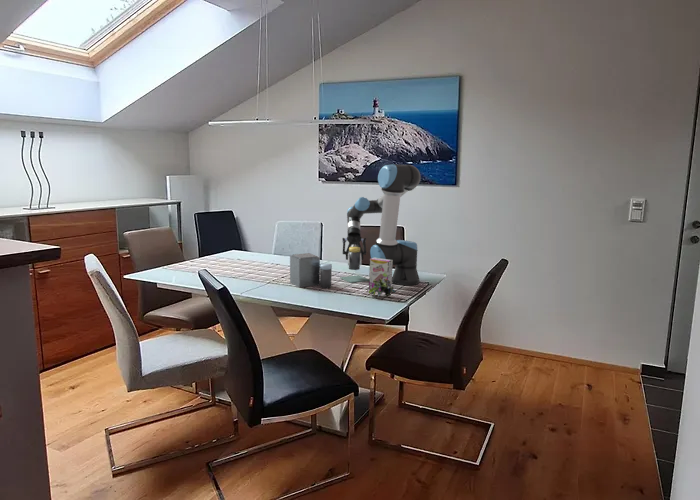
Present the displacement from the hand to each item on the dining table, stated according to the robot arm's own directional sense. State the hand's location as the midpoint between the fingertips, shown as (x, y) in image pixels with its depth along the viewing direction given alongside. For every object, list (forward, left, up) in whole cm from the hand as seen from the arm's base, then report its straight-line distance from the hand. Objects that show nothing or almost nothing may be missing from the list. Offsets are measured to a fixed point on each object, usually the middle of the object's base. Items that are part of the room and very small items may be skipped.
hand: (354, 264), depth 286 cm
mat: (+2, -2, -9) cm, 10 cm away
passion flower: (-35, +6, -10) cm, 37 cm away
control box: (+6, +27, -9) cm, 30 cm away
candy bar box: (-24, -2, -10) cm, 26 cm away
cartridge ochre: (+3, -2, -3) cm, 5 cm away
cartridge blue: (-5, +20, -9) cm, 23 cm away
